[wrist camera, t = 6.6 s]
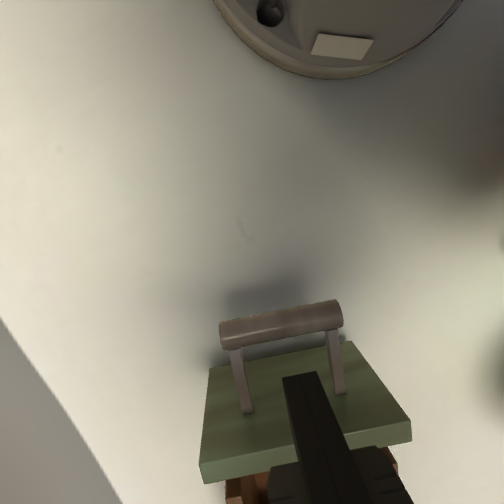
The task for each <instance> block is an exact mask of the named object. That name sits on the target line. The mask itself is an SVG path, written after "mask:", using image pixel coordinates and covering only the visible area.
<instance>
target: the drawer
mask: <svg viewBox="0 0 504 504" xmlns="http://www.w3.org/2000/svg"><path fill="white" fill-rule="evenodd" d="M342 326H343V314H342V310H341V307H340V305H339V303H338V301H337V300H336V299H333V300H328V301H323V302H318V303H313V304H308V305H303V306H298V307H293V308H288V309H283V310H278V311H273V312H268V313H263V314H258V315H252V316H247V317H242V318H237V319H232V320H227V321H222V322H219V335H220V341H221V345H222V348H223V350H228V352H229V357H230V361H231V365H227V366H222V367H217V368H212V369H210V370H209V378H208V387H207V395H206V404H205V413H204V421H203V430H202V439H201V448H200V456H199V467H200V471H201V475H202V478H203V482H204V484H209V483H214V482H218V481H223V480H226V484H225V501H226V504H269V501H268V492H267V479H268V476H269V472H270V469H271V467H273V466H278V465H283V464H288V463H293V462H298V458H297V454H296V450H295V445H294V441H293V436H292V432H291V427H290V421H289V416H288V411H287V405H286V400H285V394H284V389H283V383H282V377H287V376H292V375H297V374H302V373H307V372H312V371H316V372H317V374H318V376H319V379H320V381H321V383H322V386H323V388H324V390H325V393H326V395H327V397H328V400H329V402H330V405H331V407H332V409H333V412H334V414H335V416H336V419H337V421H338V423H339V426H340V428H341V430H342V433H343V435H344V437H345V440H346V442H347V444H348V447H349V449H350V450H352V449H357V448H362V447H367V446H372V445H375V446H376V447H378V448H379V449H380V450H381V451H382V452H383V453H384V454H385V455H386V456H387V457H388V458H389V459H390V461H391V463H392V465H393V467H394V468H395V470H396V472H397V475H398V465H397V462H396V460H395V459H394V457H393V455H392V453H391V452H390V450H389V448H388V447H387V446H391V445H396V444H401V443H406V442H411V441H412V432H411V420H410V419H409V418H408V416H407V415H406V413H405V412H404V411H403V409H402V408H401V407H400V405H399V404H398V403H397V401H396V400H395V399H394V397H393V396H392V395H391V393H390V392H389V391H388V389H387V388H386V387H385V385H384V384H383V382H382V381H381V380H380V378H379V377H378V376H377V374H376V373H375V372H374V370H373V369H372V368H371V366H370V365H369V364H368V362H367V361H366V360H365V358H364V357H363V356H362V354H361V353H360V351H359V350H358V349H357V347H356V346H355V345H354V343H353V342H352V341H346V342H341V343H340V340H339V332H338V328H340V327H342ZM320 331H324V332H325V340H326V346H321V347H316V348H311V349H306V350H301V351H297V352H292V353H287V354H282V355H277V356H272V357H267V358H262V359H257V360H252V361H247V362H244V361H243V356H242V352H241V347H244V346H249V345H254V344H259V343H264V342H269V341H274V340H279V339H285V338H290V337H295V336H300V335H305V334H310V333H315V332H320Z"/></svg>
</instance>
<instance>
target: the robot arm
mask: <svg viewBox="0 0 504 504" xmlns="http://www.w3.org/2000/svg"><path fill="white" fill-rule="evenodd" d="M462 1H463V0H214V2H215V4H216V6H217V8H218V9H219V11H220V12H221V14H222V16H223V17H224V19H225V20H226V21H227V23H228V24H229V25H230V26H231V28H232V29H233V30H234V32H235V33H236V34H237V35H238V36H239V37H240V38H241V39H242V40H243V41H244V42H245V43H246V44H247V45H248V46H249V47H251V48H252V49H253V50H254V51H255V52H257V53H258V54H259V55H261V56H262V57H264V58H265V59H266V60H268V61H270V62H272V63H273V64H275V65H277V66H279V67H281V68H284V69H286V70H288V71H291V72H294V73H297V74H300V75H304V76H308V77H313V78H323V79H342V78H350V77H355V76H359V75H364V74H367V73H370V72H373V71H375V70H378V69H380V68H382V67H384V66H387V65H389V64H391V63H392V62H394V61H395V60H397V59H399V58H400V57H402V56H403V55H405V54H406V53H408V52H409V51H410V50H412V49H413V48H415V47H416V46H417V45H419V44H420V43H421V42H423V41H424V40H425V39H427V38H428V37H429V36H431V35H432V34H433V33H434V32H435V31H436V30H437V29H438V28H440V27H441V26H442V25H443V24H444V23H445V21H446V20H447V19H448V18H449V17H450V16H451V15H452V14H453V13H454V11H455V10H456V9H457V8H458V6H459V5H460V4H461V2H462ZM282 383H283V389H284V394H285V400H286V405H287V411H288V416H289V421H290V427H291V432H292V436H293V441H294V445H295V450H296V454H297V458H298V462H293V463H288V464H283V465H278V466H273V467H271V469H270V472H269V476H268V479H267V492H268V501H269V504H414V503H413V501H412V499H411V497H410V496H409V494H408V492H407V490H405V487H404V485H403V483H402V481H401V479H400V478H399V476H398V475H397V472H396V470H395V468H394V467H393V465H392V463H391V461H390V459H389V458H388V457H387V456H386V455H385V454H384V453H383V452H382V451H381V450H380V449H379V448H378V447H376V446H375V445H372V446H367V447H362V448H357V449H352V450H350V449H349V447H348V444H347V442H346V440H345V437H344V435H343V433H342V430H341V428H340V426H339V423H338V421H337V419H336V416H335V414H334V412H333V409H332V407H331V405H330V402H329V400H328V397H327V395H326V393H325V390H324V388H323V386H322V383H321V381H320V379H319V376H318V374H317V372H316V371H312V372H307V373H302V374H297V375H292V376H287V377H282Z"/></svg>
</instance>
